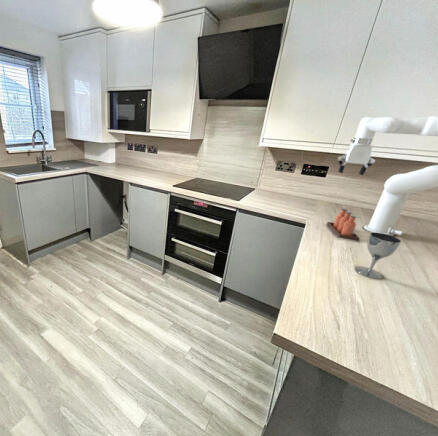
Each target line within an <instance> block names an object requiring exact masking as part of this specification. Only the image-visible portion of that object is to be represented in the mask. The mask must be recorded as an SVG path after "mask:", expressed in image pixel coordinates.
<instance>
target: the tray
mask: <svg viewBox="0 0 438 436" xmlns="http://www.w3.org/2000/svg"><path fill="white" fill-rule="evenodd" d="M326 225H327V226H328V228H329V229H330V230H331V231H332V232H333V233H334V234H335V235H336V237H338V238H339V239H345V240H350V241H351V240H352V241H356V242H359V241H360V238H361V237H359V236H358V235H357V234H356V233H355V232H354V231H353V234H352V236H346V235H341V233H339V232H338V231H337V229H336V228H334V227H333V225H334V222H331V221H327V222H326Z"/></svg>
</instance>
